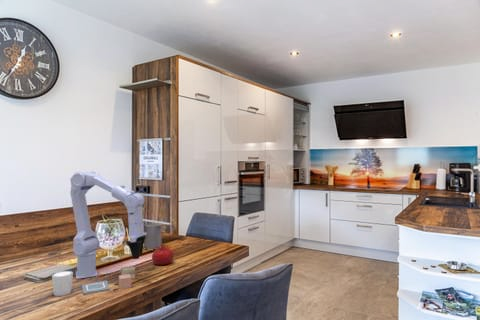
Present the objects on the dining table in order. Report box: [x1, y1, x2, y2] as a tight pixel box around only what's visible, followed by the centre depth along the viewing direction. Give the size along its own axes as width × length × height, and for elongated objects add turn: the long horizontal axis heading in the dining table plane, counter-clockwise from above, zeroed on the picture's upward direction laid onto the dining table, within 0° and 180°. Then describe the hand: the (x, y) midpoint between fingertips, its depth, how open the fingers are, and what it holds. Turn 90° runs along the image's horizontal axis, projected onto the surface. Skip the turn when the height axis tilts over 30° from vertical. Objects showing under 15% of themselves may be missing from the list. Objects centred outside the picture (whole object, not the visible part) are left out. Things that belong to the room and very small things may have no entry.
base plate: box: [81, 280, 111, 296], centre depth 123 cm, size 10×9×1 cm
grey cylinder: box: [51, 271, 74, 297], centre depth 118 cm, size 7×7×7 cm
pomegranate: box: [151, 243, 174, 266], centre depth 154 cm, size 10×10×9 cm
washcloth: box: [23, 263, 77, 284], centre depth 138 cm, size 12×18×3 cm, turn 152°
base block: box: [120, 264, 136, 279], centre depth 135 cm, size 5×5×4 cm
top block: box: [118, 274, 132, 290], centre depth 124 cm, size 4×4×4 cm
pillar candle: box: [143, 222, 163, 250], centre depth 182 cm, size 10×10×15 cm
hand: (137, 256), depth 132 cm, fingers open, 7 cm apart
